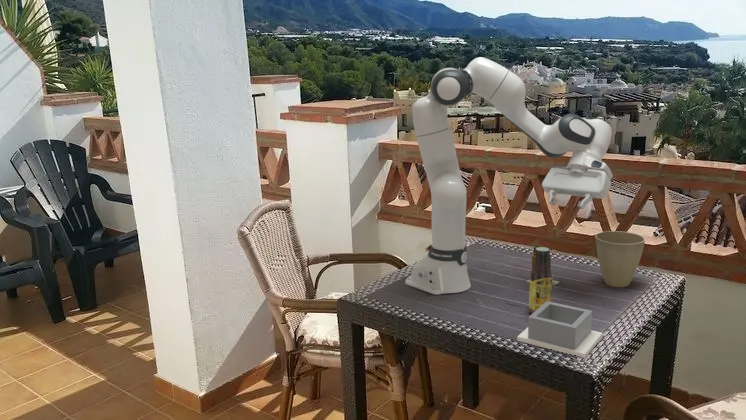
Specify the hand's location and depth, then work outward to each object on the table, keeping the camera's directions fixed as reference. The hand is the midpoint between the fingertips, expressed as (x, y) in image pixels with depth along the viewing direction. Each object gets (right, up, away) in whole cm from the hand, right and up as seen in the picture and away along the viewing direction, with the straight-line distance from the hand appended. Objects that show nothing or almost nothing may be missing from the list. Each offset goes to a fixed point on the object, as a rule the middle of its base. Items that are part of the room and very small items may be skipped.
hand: (565, 205), depth 175 cm
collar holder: (-7, -36, -18) cm, 41 cm away
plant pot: (+23, -26, +18) cm, 39 cm away
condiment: (0, -26, +23) cm, 34 cm away
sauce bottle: (-8, -32, -1) cm, 33 cm away
